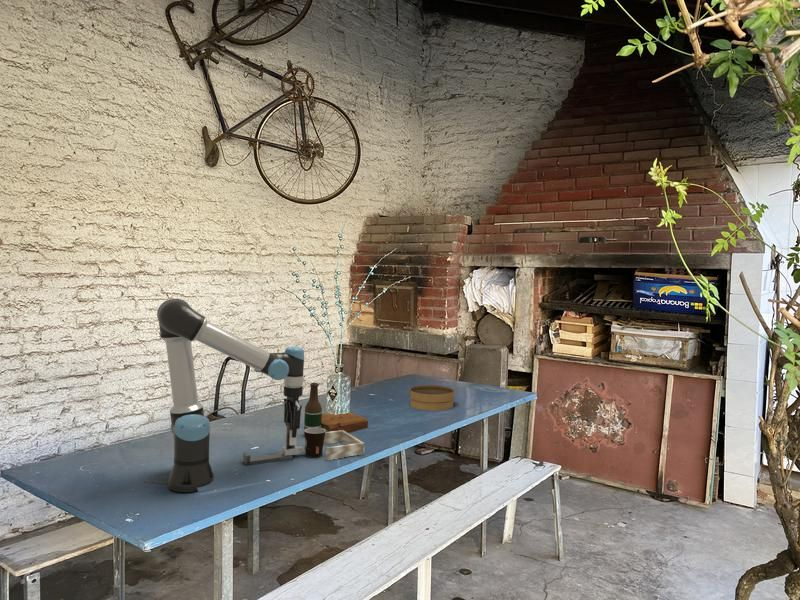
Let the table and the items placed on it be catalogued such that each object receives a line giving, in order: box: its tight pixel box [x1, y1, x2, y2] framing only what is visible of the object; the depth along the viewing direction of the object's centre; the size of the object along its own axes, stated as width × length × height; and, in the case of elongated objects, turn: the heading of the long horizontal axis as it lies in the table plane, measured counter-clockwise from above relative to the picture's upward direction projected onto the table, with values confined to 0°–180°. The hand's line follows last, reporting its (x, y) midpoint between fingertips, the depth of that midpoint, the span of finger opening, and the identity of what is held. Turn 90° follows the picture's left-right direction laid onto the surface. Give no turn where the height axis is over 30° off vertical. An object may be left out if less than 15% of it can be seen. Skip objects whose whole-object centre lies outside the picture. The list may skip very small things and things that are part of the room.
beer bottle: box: [303, 382, 323, 436], centre depth 259 cm, size 8×8×24 cm
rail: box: [242, 451, 293, 466], centre depth 225 cm, size 19×4×4 cm, turn 122°
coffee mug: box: [303, 428, 326, 458], centre depth 235 cm, size 12×9×10 cm
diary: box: [321, 411, 369, 434], centre depth 272 cm, size 23×19×6 cm
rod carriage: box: [280, 422, 319, 456], centre depth 231 cm, size 13×10×12 cm
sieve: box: [408, 384, 456, 411], centre depth 318 cm, size 25×25×11 cm
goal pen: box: [323, 430, 366, 461], centre depth 240 cm, size 17×20×5 cm
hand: (290, 443), depth 229 cm, fingers closed on rod carriage, 3 cm apart
